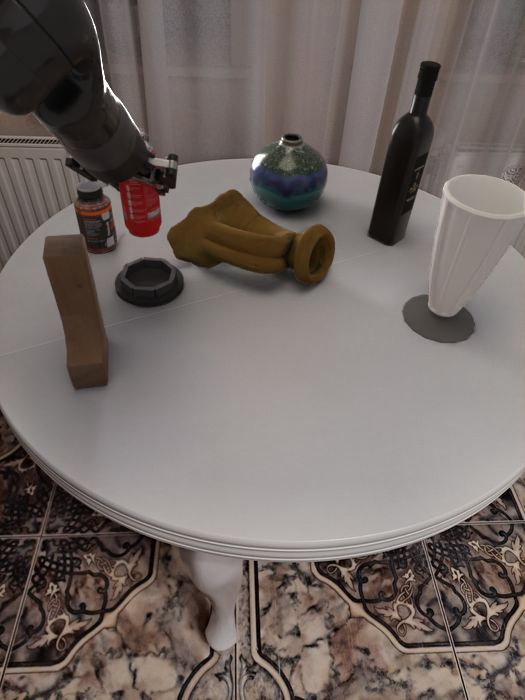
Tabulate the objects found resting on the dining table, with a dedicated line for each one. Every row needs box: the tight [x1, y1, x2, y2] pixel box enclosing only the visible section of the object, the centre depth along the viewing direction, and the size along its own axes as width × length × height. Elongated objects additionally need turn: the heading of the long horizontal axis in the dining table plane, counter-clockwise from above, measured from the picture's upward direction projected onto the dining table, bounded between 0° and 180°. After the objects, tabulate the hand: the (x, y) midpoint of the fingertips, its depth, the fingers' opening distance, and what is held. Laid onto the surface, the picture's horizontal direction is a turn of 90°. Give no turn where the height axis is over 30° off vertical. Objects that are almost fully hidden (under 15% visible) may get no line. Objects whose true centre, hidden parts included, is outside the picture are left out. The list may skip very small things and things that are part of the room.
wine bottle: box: [367, 60, 442, 246], centre depth 87 cm, size 6×6×30 cm
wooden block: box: [42, 233, 109, 390], centre depth 64 cm, size 9×4×18 cm, turn 13°
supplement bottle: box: [73, 180, 118, 254], centre depth 86 cm, size 6×6×11 cm
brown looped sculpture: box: [166, 188, 336, 285], centre depth 84 cm, size 18×13×22 cm
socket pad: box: [114, 256, 185, 308], centre depth 82 cm, size 11×11×2 cm
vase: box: [249, 132, 329, 212], centre depth 100 cm, size 15×15×13 cm
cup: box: [402, 173, 525, 344], centre depth 74 cm, size 12×12×22 cm
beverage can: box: [118, 140, 163, 239], centre depth 69 cm, size 5×5×12 cm
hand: (142, 186), depth 71 cm, fingers closed on beverage can, 5 cm apart
